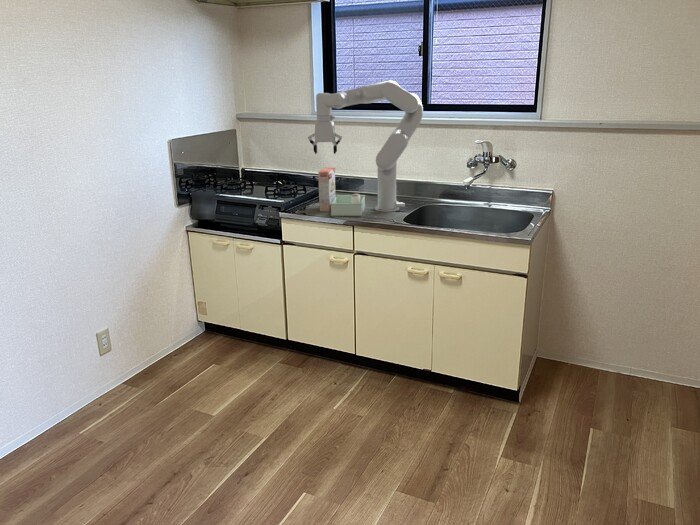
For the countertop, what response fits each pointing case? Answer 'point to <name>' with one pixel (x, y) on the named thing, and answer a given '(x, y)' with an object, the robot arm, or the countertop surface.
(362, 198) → the tote
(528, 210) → the countertop surface
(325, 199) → the cracker box
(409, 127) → the robot arm
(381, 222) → the countertop surface
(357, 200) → the jar
